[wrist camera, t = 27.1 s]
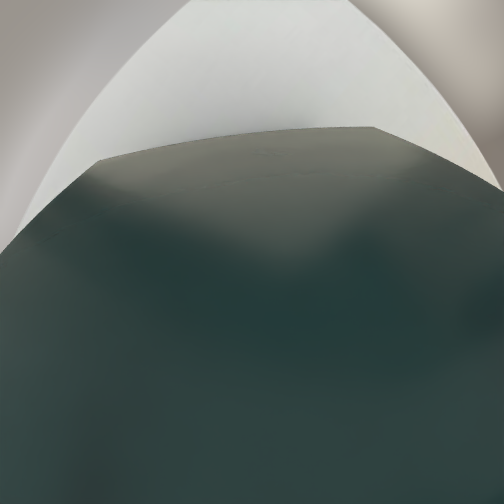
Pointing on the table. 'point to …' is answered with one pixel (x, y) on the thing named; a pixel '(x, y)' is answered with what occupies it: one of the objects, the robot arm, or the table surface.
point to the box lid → (258, 328)
